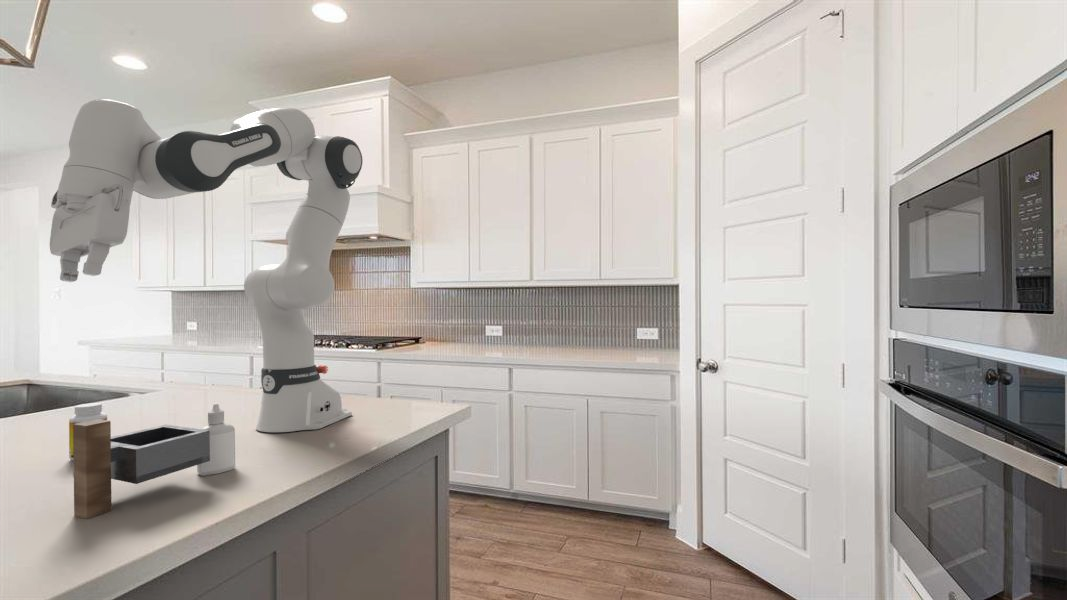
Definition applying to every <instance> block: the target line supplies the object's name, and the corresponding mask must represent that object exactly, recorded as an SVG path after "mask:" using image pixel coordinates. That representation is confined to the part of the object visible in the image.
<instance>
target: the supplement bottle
mask: <svg viewBox="0 0 1067 600" xmlns="http://www.w3.org/2000/svg"><path fill="white" fill-rule="evenodd" d="M97 419H100V420H107V421H108V414H107V413H106V412H103V403H101V402H91V403H81V404H78V405H75V406H74V415H72V416H71V417H70V418H69V419H68V440H69V441H68V447H69V449H68V450H69V451H68V454H69V455H68V456H69V459H70V461H72V462H74V458H73V424H76V423H81V422H86V421H92V420H97Z"/></svg>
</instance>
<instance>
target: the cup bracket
mask: <svg viewBox="0 0 1067 600" xmlns="http://www.w3.org/2000/svg"><path fill="white" fill-rule="evenodd" d="M111 426H112V425H111V420H108V419H107V420H100V419H97V420H92V421H86V422H81V423H76V424H73V458H74V461H73V517H78V518H83V519H84V520H85V519H86V520H89V519H91V518H93V517H97V516H99V515H103V514H106V513H108V512H111V511H112V507H113V505H112V480H116V481H121V482H123V483H124V482H125V483H129V484H135V485H137V484H141V483H146V482H148V481H150V480H154V479H157V478H160V477H163V476H167V475H169V474H172V473H176V472H180V471H182V470H186V469H189V468H191V467H194V466H196V467H197V465H199V464H202V463H205V462H208V461H210V431H209V430H202V429H201V428H195V427H194V428H193V427H185V426H178V425H171V424H164V425H163V424H162V425H159V426H155V427H151V428H150V427H149V428H145V429H141V430H136V431H132V432H128V433H122V434H119V435H115V436H111V434H112V433H111V429H112V428H111Z"/></svg>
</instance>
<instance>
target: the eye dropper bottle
mask: <svg viewBox="0 0 1067 600" xmlns="http://www.w3.org/2000/svg"><path fill="white" fill-rule="evenodd" d="M219 405H220V404H219V403H218V402H217V403H213V405H212V409H211V410H210V411H208V412H207V425H205V426H203V427H201V428H200V429H202V430H209V431H210V461H208V462H205V463H202V464H199V465H196V471H197V473H198V475H200V476H202V477H203V476H213V475H217V474H218V475H219V474H222V473H225V472H229V471H232V470H233V469H235V467H236V429H235V426H234V425H232V424H231V423H225V411H224V410H223V409H221V408H220V406H219Z"/></svg>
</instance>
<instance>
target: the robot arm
mask: <svg viewBox="0 0 1067 600" xmlns="http://www.w3.org/2000/svg"><path fill="white" fill-rule="evenodd" d="M68 148H69V156H68V159H67V161H66V162H65V164H64V165H63V168H62V172H61V177H60V181H59V184H58V187H57V188H58V189H56V192H55V193H54V195H53V196H52V199H51V204H50V207H51V208H53V209H55V210H54V212H53V216H52V222H51V227H50V228H51V230H50V237H49V250H50V254H51V255H53V256H57V257H60V259H59V262H60V269H61V271H60V275H59V279H60V281H61V282H68V283H74V282H76V281H77V280H78V276H79V270H78V268H79V263H80V262H81V258H82V257H85V256H87V258H86V260H85V262H84V263H83V268H82V273H83V275H86V276H91V277H95V276H99V275H101V274H102V269H103V265H104V263H105V261H106V259H107V257H108V255H109V253H110V248H112V247H115V246H118V245H122V244H123V243H124V241H125V240H126V237H127V234H128V229H129V221H130V210H131V204H132V197H133V192H136V193H138V194H139V195H142V196H145V197H147V198H150V199H155V200H166V199H172V198H176V197H181V196H185V195H191V194H194V193H204V192H210V191H211V192H212V191H215V190H216V189H218V188H220V187H221V186H222V185H224V183H225V182H226V181H227V180H228V179H229V177H230V176H231V174H233V172H234V171H236V170H237V169H239V168H241V167H242V168H243V167H245V166H247V165H250V166H252V167H266V166H271V165H275V164H276V166H277V167H278V169H279V172H281V174H283V175H284V176H285V177H287V178H289V179H292V180H296V181H308V187H307V193H306V195H305V196H304V197H303V199H302V201H301V203H300V204H299V206H298V208H297V211H296V213H295V215H293V218H292V219H291V222H290V225H289V226H288V229H287V231H286V232H285V240H286V242H287V244H288V250H287V255H286V258H285V260H283V262H282V263H272V264H270V263H269V264H265V265H263V266H260V267H258V268H255V269H254V270H252V271H250V272H249V273H248V274H247V276H246V277H245V280H244V283H243V290H244V294H245V296H246V297H247V299H248V300H249V301H250V302H251V304H252V305H253V307H254V310H255V313H256V316H257V318H258V319H257V320H258V323H259V327H260V329H261V335H262V336H261V337H262V359H263V360H262V361H263V362H262V363H263V366H262V368H261V372H260V374H261V375H260V376H261V377H260V380H261V381H260V383H261V388H262V396H261V404H260V411H259V416H258V418H257V419H258V420H257V423H256V426H255V430H256V431H259V432H261V433H262V432H264V433H289V432H296V431H308V430H311V431H312V430H319V429H322V428H324V427H326V426H329V425H333V423H336V422H339V421H341V420H344V419H346V418H347V417H351V416H352V415H353V412H352V410H349V409H347V408H346V409H345V408H343V404H342V397H341V394H340V392H338V390H336V389H335V388H333V387H332V386H330V385H329V384H328V383H326V382H325V381H323V380H322V379H321V375H320V374H323V375H324V374H327V373H328V372H329V367H328V365H318V366H317V365H316V364H315V336H314V331H313V330H312V329H311V328H310V327H309V325H308V324H307V322H306V320H305V318H304V315H303V311H302V310H308V309H313V308H316V307H319V306H323V305H324V304H326V303H328V302H329V301H330V299H331V298H332V297H333V294H334V292H335V280H334V279H335V278H334V277H333V275H332V273H331V271H330V261H331V260H330V259H331V255H332V252H333V249H334V247H335V245H336V241H337V239H338V237H339V235H340V232H341V230H342V227H343V225H344V223H345V220H346V216H347V213H348V211H349V206H350V200H351V195H350V191H349V190H348V189H349V188H351V187H352V186H353V185H354V184H355V182H356V180H357V178H358V177H359V175H360V173H361V170H362V167H363V156H362V155H363V154H362V152H361V149H360V147H359V145H358V144H357V142H355V141H354V140H353V139H350V138H347V137H344V136H339V135H337V136H330V135H320V134H319V135H318V134H317V135H316V130H315V126H314V124H313V121H312V120H311V118H310V117H309V116H308V115H307V114H306V113H305V112H304V111H301V110H300V109H297V108H293V107H277V108H269V109H263V110H259V111H255V112H251V113H249V114H246V115H244V116H243V117H241V118H238V119H236V120H234V121H233V123H232V124H231V127H230V131H229V132H224V133H222V134H221V133H220V134H211V133H206V132H201V131H195V130H185V131H181V132H178V133H176V134H172V135H171V136H169V137H166V138H162V137H161V136H160V135H158V134H157V133H156V132H155V130H153V128H151V126H150V125H149V123H148V122H147V121H146V119H145V118H144V116H143V114H142V112H141V110H140V109H139V108H138V107H136V106H133V105H131V104H130V103H127V102H124V101H120V100H116V99H104V98H102V99H100V98H99V99H93V100H90V101H88V102H85V103H84V104H82V106H80V109H79V110H78V113H77V115H76V116H75V119H74V122H73V126H72V129H71V133H70V137H69V141H68Z"/></svg>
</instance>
